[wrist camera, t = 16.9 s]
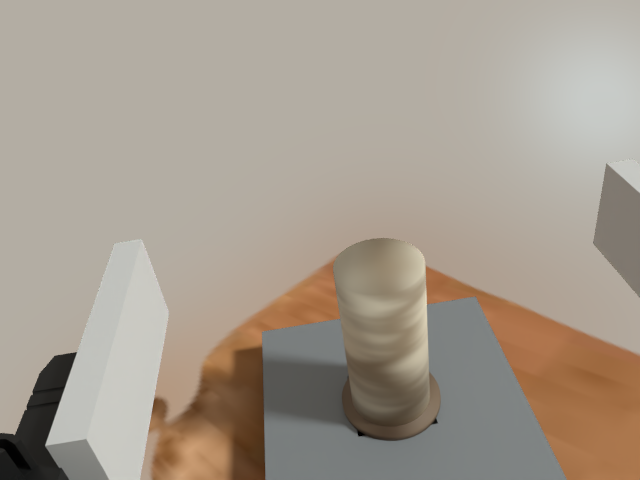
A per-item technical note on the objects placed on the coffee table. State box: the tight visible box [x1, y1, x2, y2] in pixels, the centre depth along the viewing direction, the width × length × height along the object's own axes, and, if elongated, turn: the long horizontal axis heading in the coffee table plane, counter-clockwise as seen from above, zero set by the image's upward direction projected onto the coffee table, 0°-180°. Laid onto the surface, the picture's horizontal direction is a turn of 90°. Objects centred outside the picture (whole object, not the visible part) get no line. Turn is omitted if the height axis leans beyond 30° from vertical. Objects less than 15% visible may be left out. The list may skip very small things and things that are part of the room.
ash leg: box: [333, 238, 441, 441], centre depth 43 cm, size 8×8×16 cm
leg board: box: [262, 297, 567, 480], centre depth 47 cm, size 20×20×3 cm
